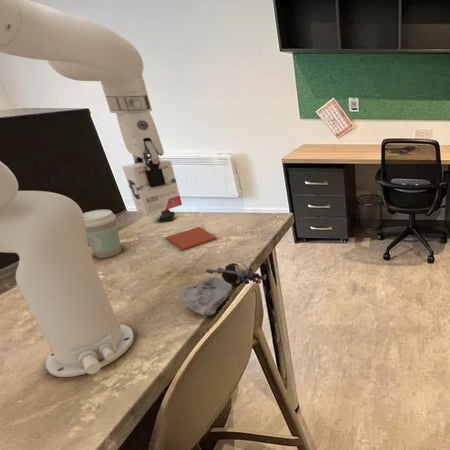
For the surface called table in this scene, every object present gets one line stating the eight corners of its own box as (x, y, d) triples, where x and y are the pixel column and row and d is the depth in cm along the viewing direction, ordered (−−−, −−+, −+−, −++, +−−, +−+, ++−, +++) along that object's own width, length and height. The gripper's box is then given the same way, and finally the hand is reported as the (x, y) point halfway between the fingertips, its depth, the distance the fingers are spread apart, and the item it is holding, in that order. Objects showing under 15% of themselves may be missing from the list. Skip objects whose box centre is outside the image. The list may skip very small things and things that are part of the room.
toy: (262, 258, 83) (208, 250, 86) (252, 282, 80) (196, 273, 83) (272, 267, 88) (220, 259, 91) (262, 291, 85) (209, 281, 88)
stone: (214, 261, 78) (216, 288, 71) (236, 277, 83) (239, 304, 75) (180, 286, 77) (178, 316, 70) (203, 301, 82) (203, 331, 74)
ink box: (171, 201, 90) (159, 157, 85) (183, 205, 88) (171, 160, 83) (136, 212, 83) (120, 165, 78) (148, 216, 81) (132, 168, 76)
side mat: (216, 239, 107) (216, 237, 107) (182, 250, 100) (181, 248, 100) (199, 228, 114) (198, 226, 114) (166, 238, 107) (165, 236, 107)
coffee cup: (88, 252, 98) (72, 213, 93) (124, 243, 103) (112, 206, 98) (91, 263, 92) (74, 223, 87) (129, 253, 98) (116, 215, 93)
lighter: (178, 211, 125) (163, 215, 125) (175, 206, 124) (160, 210, 124) (173, 220, 119) (157, 225, 118) (170, 215, 118) (154, 220, 117)
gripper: (164, 106, 73) (184, 187, 81) (136, 100, 83) (157, 172, 90) (121, 109, 68) (148, 195, 75) (97, 102, 77) (122, 179, 85)
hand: (152, 182), depth 83 cm, fingers closed on ink box, 5 cm apart
